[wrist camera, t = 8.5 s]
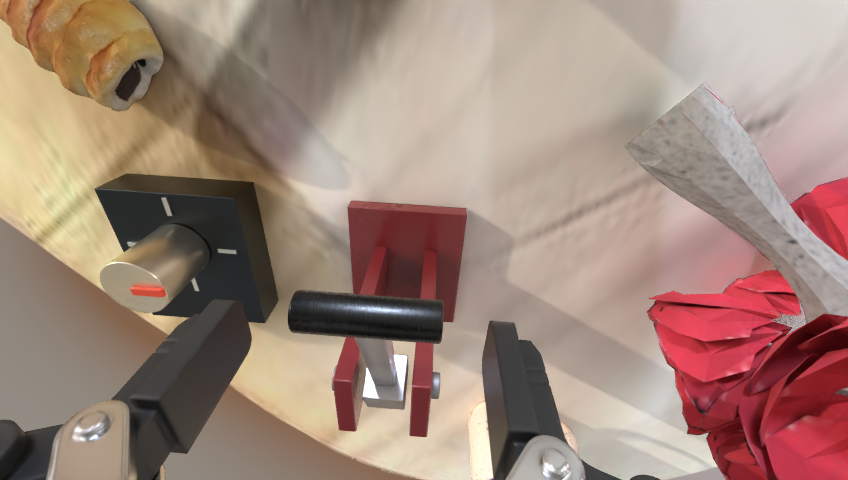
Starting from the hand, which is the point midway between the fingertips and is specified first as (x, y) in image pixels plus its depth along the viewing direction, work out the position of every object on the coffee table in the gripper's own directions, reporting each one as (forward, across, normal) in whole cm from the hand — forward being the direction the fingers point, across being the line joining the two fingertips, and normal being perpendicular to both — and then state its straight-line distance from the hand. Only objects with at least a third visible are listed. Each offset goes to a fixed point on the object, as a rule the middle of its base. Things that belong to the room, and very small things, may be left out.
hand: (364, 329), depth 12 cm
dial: (+14, +17, +7) cm, 23 cm away
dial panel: (+17, +17, +8) cm, 25 cm away
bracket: (+17, 0, +9) cm, 19 cm away
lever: (+4, 0, +4) cm, 6 cm away
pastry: (+17, +20, -7) cm, 27 cm away
